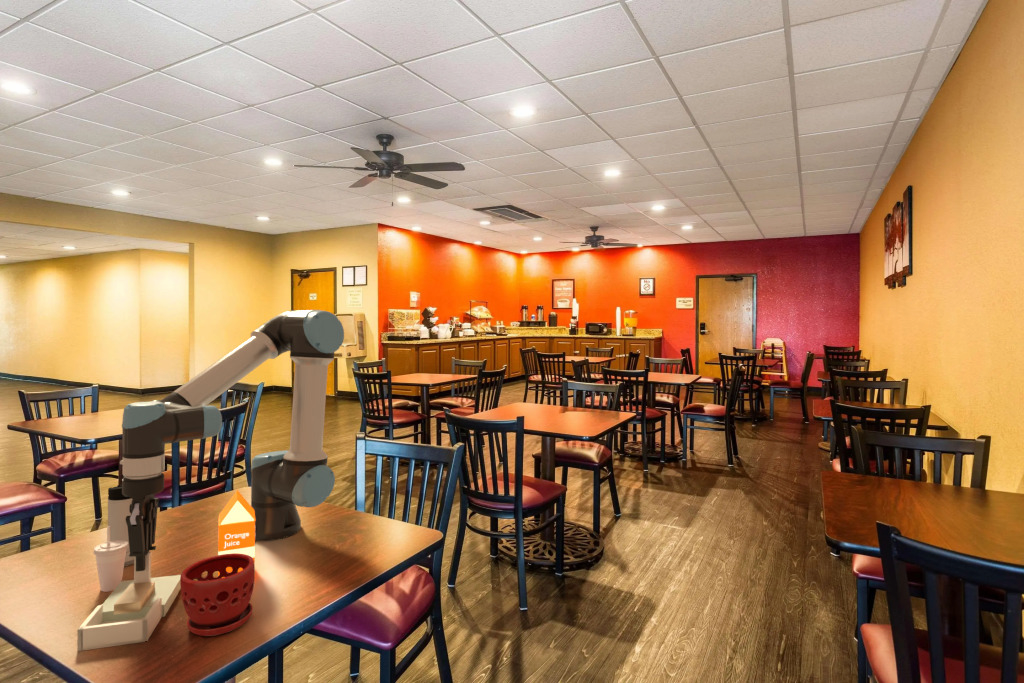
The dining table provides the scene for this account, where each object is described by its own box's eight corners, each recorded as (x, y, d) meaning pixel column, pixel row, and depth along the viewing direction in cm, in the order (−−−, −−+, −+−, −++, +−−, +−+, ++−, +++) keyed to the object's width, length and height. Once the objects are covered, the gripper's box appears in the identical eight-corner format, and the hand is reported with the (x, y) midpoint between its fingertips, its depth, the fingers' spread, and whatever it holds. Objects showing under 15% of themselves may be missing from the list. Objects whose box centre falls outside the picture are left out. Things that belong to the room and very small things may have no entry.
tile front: (147, 600, 112) (148, 591, 112) (140, 611, 108) (140, 601, 108) (122, 603, 111) (122, 593, 111) (113, 614, 107) (113, 604, 107)
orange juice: (217, 589, 123) (218, 502, 122) (218, 573, 131) (218, 491, 130) (255, 582, 126) (256, 497, 126) (254, 567, 134) (254, 487, 134)
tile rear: (154, 590, 117) (154, 581, 117) (147, 600, 112) (147, 591, 112) (130, 593, 115) (130, 583, 115) (122, 603, 111) (122, 593, 111)
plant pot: (233, 601, 118) (233, 546, 117) (267, 620, 110) (267, 562, 110) (167, 627, 107) (168, 568, 107) (200, 651, 100) (200, 587, 99)
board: (182, 585, 124) (182, 574, 124) (164, 616, 111) (164, 604, 111) (121, 592, 120) (121, 581, 120) (95, 625, 107) (95, 613, 107)
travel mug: (123, 569, 131) (123, 488, 131) (101, 566, 133) (101, 485, 132) (145, 558, 138) (146, 481, 137) (124, 556, 139) (124, 479, 138)
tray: (161, 617, 111) (161, 597, 111) (147, 641, 102) (147, 620, 102) (97, 625, 107) (98, 605, 107) (77, 651, 99) (77, 629, 99)
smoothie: (105, 581, 125) (105, 521, 125) (134, 580, 126) (134, 521, 126) (86, 595, 119) (86, 532, 119) (116, 594, 120) (117, 531, 119)
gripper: (134, 467, 121) (133, 572, 122) (110, 484, 109) (109, 600, 109) (172, 466, 123) (171, 568, 124) (153, 481, 111) (152, 595, 111)
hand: (142, 583), depth 116 cm, fingers closed
